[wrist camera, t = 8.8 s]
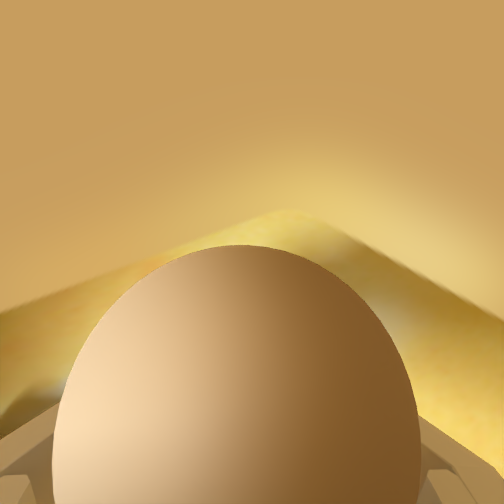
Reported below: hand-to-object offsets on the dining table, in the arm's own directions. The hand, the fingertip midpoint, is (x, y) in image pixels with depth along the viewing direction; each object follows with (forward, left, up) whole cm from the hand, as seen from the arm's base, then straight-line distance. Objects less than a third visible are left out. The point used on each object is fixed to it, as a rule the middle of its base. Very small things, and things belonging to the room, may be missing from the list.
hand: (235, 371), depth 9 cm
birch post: (0, -1, -6) cm, 6 cm away
